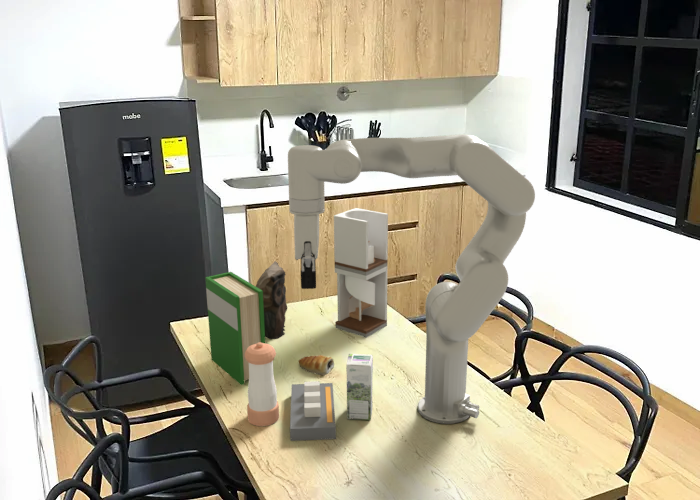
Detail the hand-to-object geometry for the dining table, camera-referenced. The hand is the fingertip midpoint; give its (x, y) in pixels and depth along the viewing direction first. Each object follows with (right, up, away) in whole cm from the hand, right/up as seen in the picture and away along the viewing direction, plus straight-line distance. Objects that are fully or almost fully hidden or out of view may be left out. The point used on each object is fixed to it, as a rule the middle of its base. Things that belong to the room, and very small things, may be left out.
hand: (308, 280), depth 156 cm
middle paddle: (0, -29, +9) cm, 31 cm away
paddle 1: (0, -27, +14) cm, 31 cm away
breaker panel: (0, -32, +10) cm, 34 cm away
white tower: (+12, -17, +58) cm, 62 cm away
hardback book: (-21, -25, +34) cm, 47 cm away
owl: (-16, -17, +57) cm, 61 cm away
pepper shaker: (-11, -33, +10) cm, 36 cm away
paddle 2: (+1, -31, +5) cm, 31 cm away
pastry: (0, -25, +33) cm, 42 cm away
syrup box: (+11, -32, +11) cm, 36 cm away
